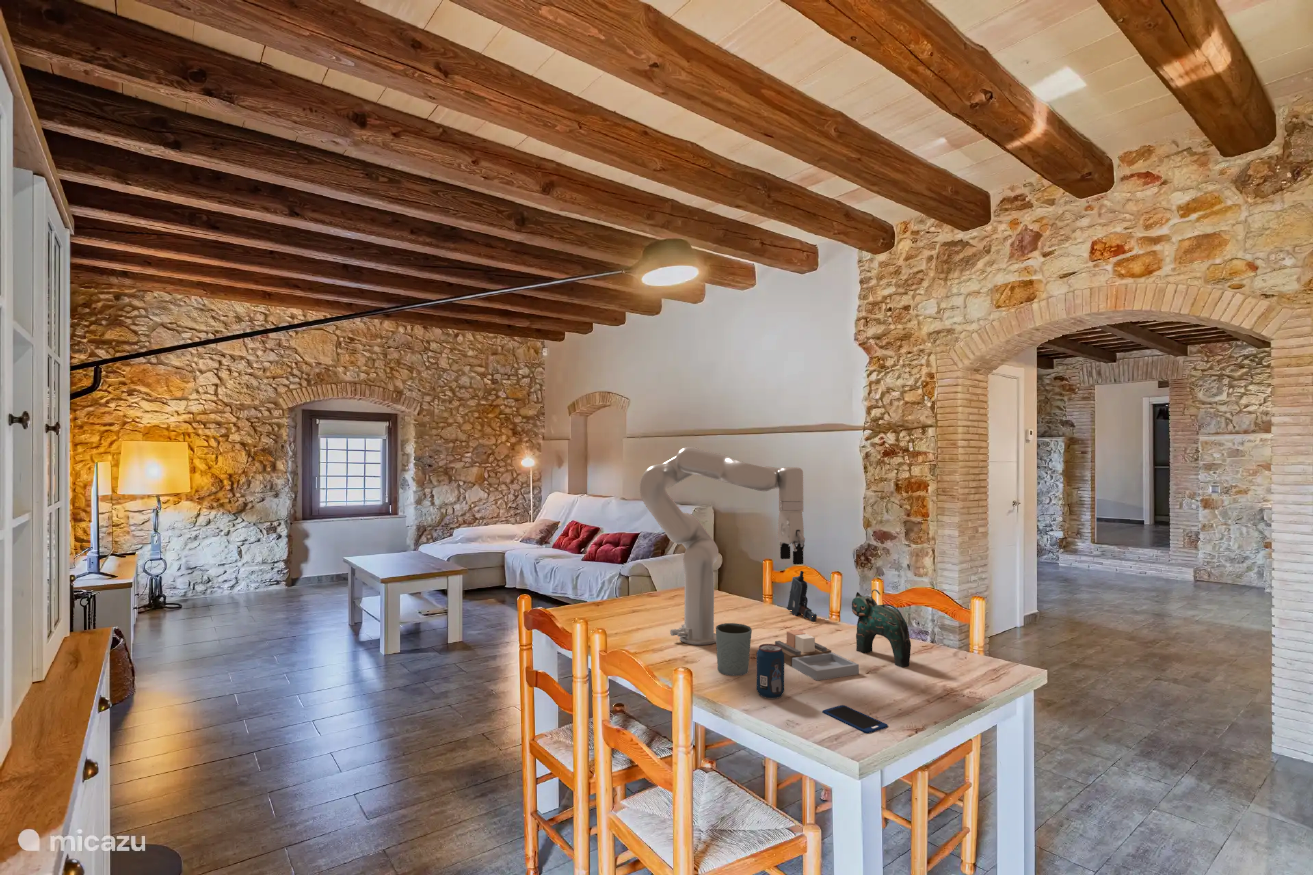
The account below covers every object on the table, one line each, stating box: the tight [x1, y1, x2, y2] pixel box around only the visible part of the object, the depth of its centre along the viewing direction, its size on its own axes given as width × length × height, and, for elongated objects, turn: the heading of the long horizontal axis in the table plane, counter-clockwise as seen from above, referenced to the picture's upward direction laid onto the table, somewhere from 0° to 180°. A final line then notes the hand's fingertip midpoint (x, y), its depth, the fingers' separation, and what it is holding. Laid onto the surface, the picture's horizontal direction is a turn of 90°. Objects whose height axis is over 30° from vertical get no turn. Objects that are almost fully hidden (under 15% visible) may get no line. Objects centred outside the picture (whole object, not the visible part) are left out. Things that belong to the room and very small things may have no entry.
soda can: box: [755, 643, 785, 700], centre depth 168 cm, size 7×7×12 cm
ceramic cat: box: [851, 589, 912, 668], centre depth 198 cm, size 20×6×20 cm, turn 27°
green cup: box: [715, 622, 753, 677], centre depth 185 cm, size 10×10×12 cm
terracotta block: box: [786, 629, 807, 648], centre depth 199 cm, size 4×4×4 cm
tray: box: [791, 651, 860, 681], centre depth 186 cm, size 14×12×3 cm
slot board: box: [774, 640, 832, 668], centre depth 197 cm, size 14×11×4 cm
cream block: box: [795, 633, 816, 653], centre depth 194 cm, size 4×4×4 cm
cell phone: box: [821, 704, 889, 734], centre depth 153 cm, size 7×14×1 cm, turn 31°
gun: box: [785, 570, 818, 623], centre depth 243 cm, size 3×17×15 cm
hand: (791, 561), depth 207 cm, fingers open, 9 cm apart
